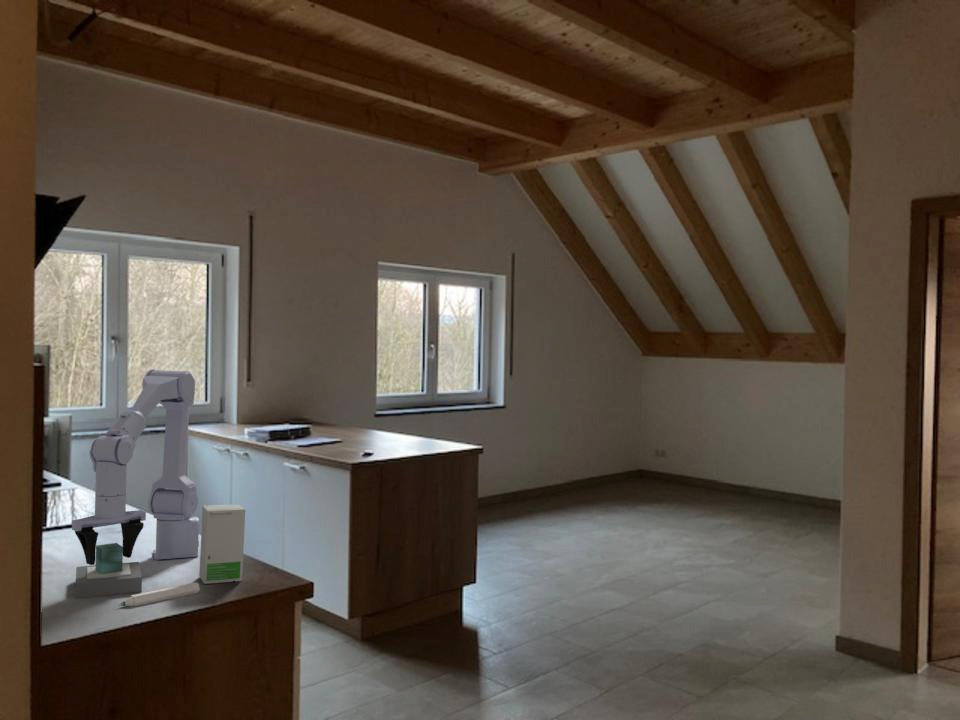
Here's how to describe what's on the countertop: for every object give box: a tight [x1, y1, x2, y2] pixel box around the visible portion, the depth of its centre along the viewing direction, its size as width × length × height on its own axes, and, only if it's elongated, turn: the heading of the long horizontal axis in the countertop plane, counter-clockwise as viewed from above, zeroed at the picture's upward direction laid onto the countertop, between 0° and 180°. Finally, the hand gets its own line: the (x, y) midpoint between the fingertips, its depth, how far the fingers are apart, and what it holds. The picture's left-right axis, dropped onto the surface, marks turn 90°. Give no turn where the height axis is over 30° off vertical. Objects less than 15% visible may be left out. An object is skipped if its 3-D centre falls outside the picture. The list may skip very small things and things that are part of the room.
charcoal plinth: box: [74, 561, 143, 599], centre depth 164 cm, size 12×12×3 cm
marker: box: [118, 581, 201, 607], centre depth 157 cm, size 3×2×16 cm
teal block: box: [95, 542, 124, 574], centre depth 164 cm, size 4×4×5 cm
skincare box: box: [198, 504, 246, 585], centre depth 172 cm, size 8×7×16 cm
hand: (109, 560), depth 164 cm, fingers open, 7 cm apart
